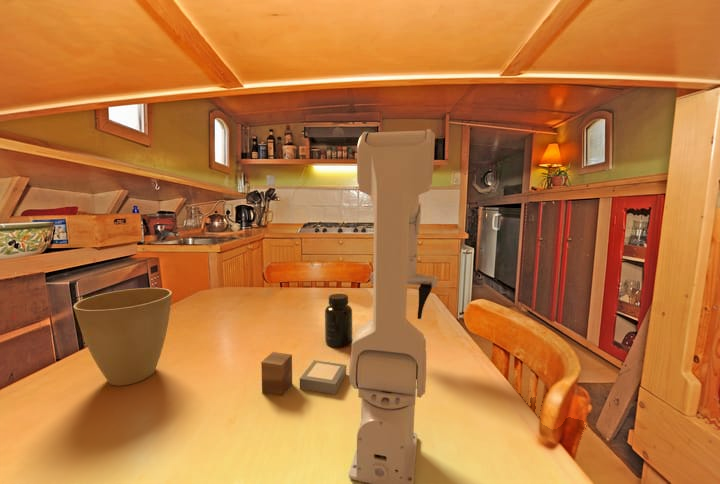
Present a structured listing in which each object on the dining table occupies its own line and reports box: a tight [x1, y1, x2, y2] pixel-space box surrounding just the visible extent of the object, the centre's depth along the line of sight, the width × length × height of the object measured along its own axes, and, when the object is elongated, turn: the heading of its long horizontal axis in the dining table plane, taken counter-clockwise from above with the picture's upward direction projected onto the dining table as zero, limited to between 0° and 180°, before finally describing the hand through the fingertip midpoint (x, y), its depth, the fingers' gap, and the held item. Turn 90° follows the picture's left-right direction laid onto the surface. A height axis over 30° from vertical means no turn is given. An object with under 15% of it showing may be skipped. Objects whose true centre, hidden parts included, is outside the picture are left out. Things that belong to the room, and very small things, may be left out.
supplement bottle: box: [324, 293, 353, 349], centre depth 75 cm, size 7×7×12 cm
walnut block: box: [260, 351, 293, 397], centre depth 56 cm, size 4×4×6 cm
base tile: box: [299, 359, 347, 395], centre depth 59 cm, size 7×7×2 cm
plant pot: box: [72, 287, 173, 387], centre depth 59 cm, size 15×15×16 cm
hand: (402, 315), depth 67 cm, fingers open, 7 cm apart
